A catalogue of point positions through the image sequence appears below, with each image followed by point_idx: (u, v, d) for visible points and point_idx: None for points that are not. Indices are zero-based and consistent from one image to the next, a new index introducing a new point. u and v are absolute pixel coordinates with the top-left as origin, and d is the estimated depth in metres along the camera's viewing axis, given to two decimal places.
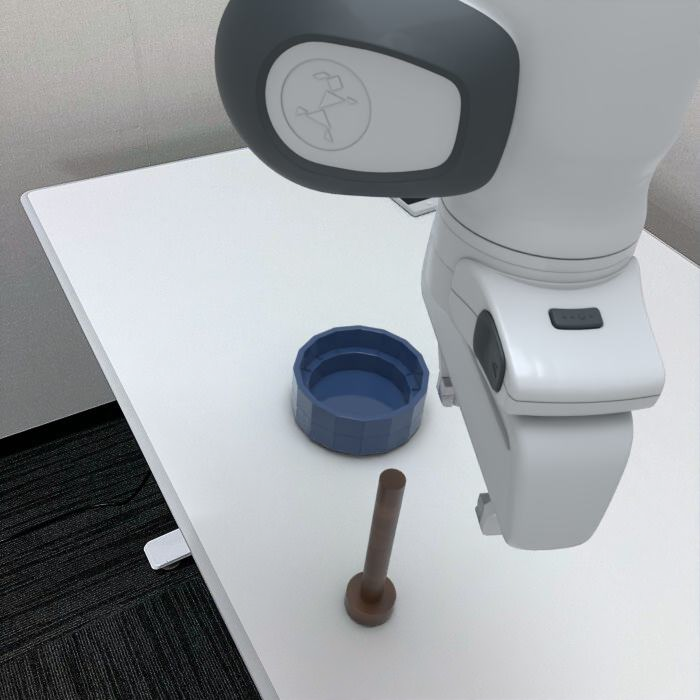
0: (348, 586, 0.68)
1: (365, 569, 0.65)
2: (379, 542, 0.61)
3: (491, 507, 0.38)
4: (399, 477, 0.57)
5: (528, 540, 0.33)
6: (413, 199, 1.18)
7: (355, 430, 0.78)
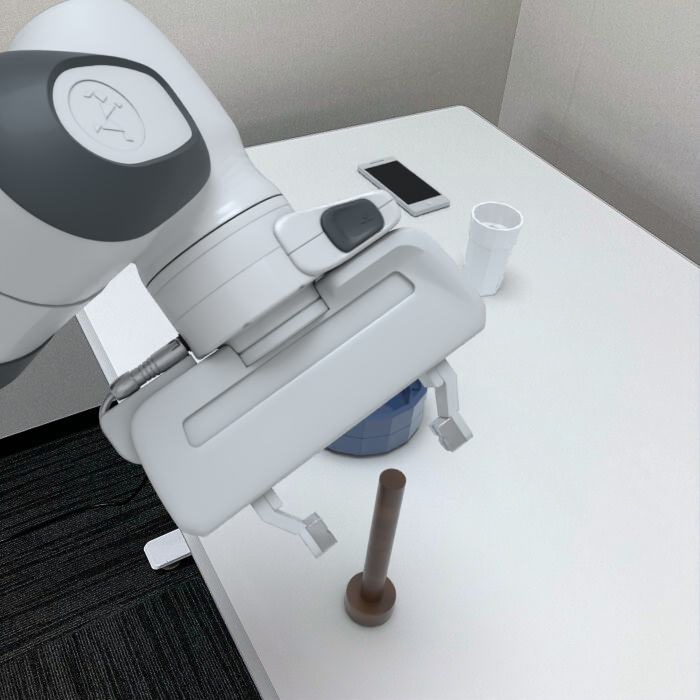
0: (348, 586, 0.68)
1: (365, 569, 0.65)
2: (379, 542, 0.61)
3: (451, 389, 0.42)
4: (399, 477, 0.57)
5: None
6: (413, 199, 1.18)
7: (355, 430, 0.78)
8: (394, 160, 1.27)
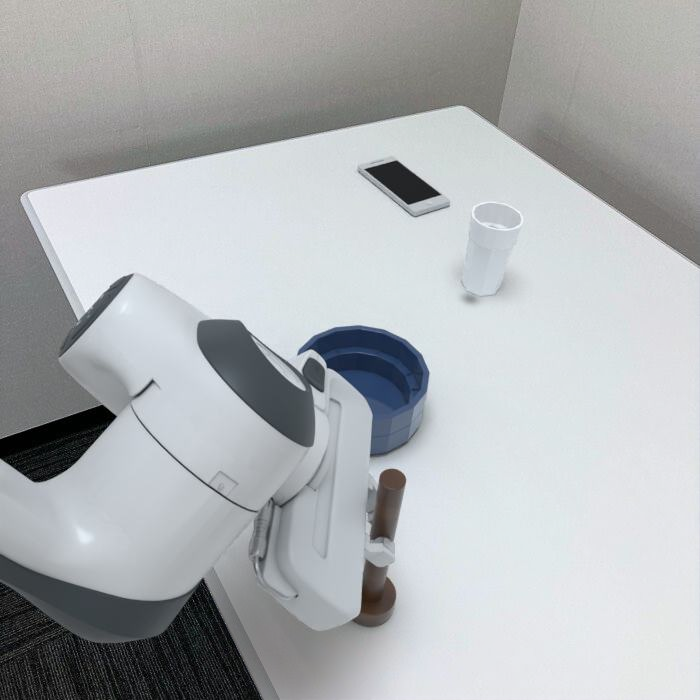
0: None
1: (365, 569, 0.65)
2: None
3: (377, 487, 0.62)
4: (399, 477, 0.57)
5: None
6: (413, 199, 1.18)
7: None
8: (394, 160, 1.27)
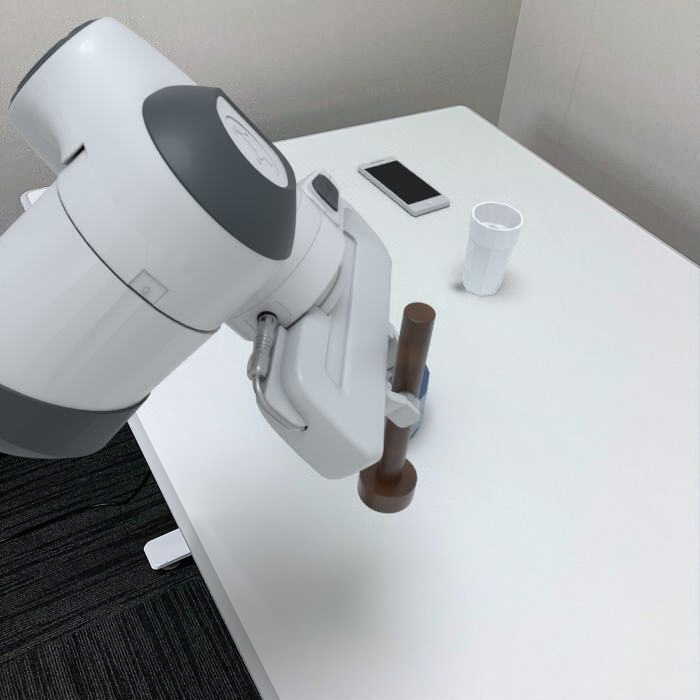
0: None
1: None
2: None
3: (398, 338, 0.53)
4: (427, 311, 0.48)
5: None
6: (413, 199, 1.18)
7: None
8: (394, 160, 1.27)
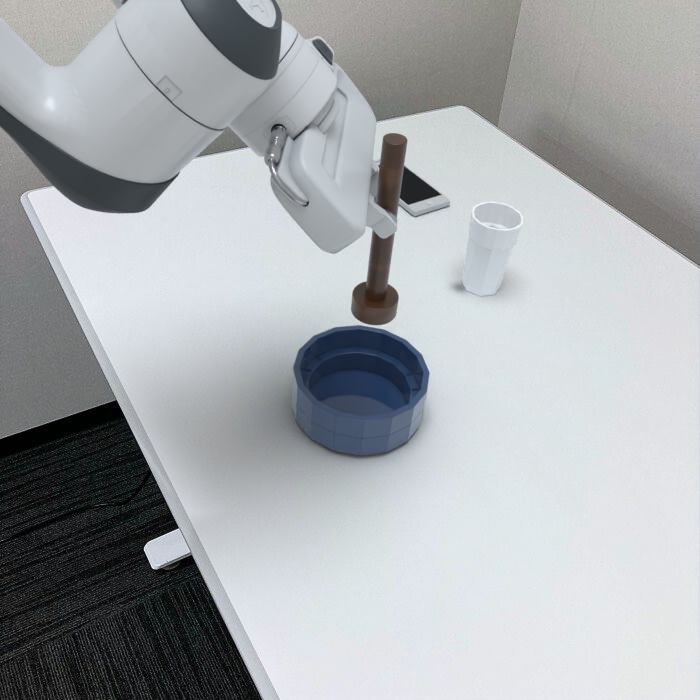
0: (354, 290, 0.73)
1: (370, 259, 0.70)
2: None
3: None
4: (401, 138, 0.62)
5: None
6: (413, 199, 1.18)
7: (355, 430, 0.78)
8: None
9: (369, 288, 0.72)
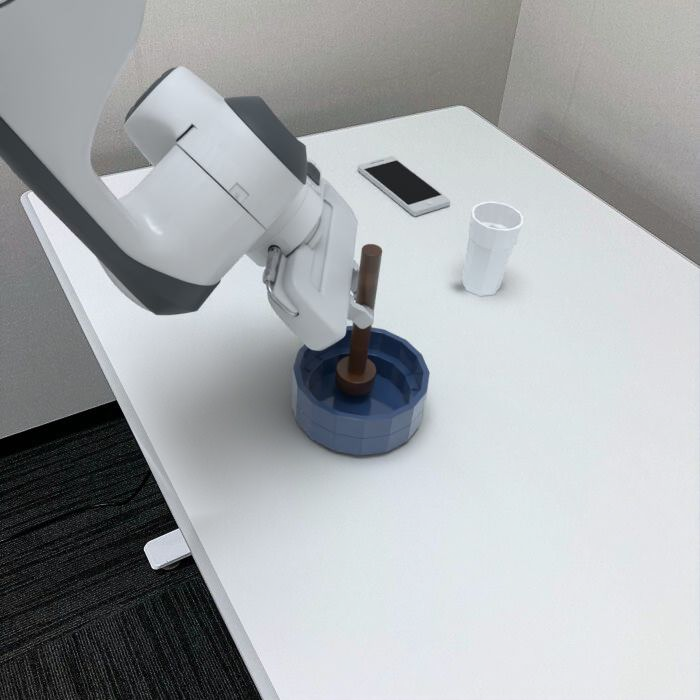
0: (338, 364, 0.85)
1: (351, 342, 0.82)
2: None
3: None
4: (377, 249, 0.74)
5: None
6: (413, 199, 1.18)
7: (355, 430, 0.78)
8: (394, 160, 1.27)
9: (351, 364, 0.84)
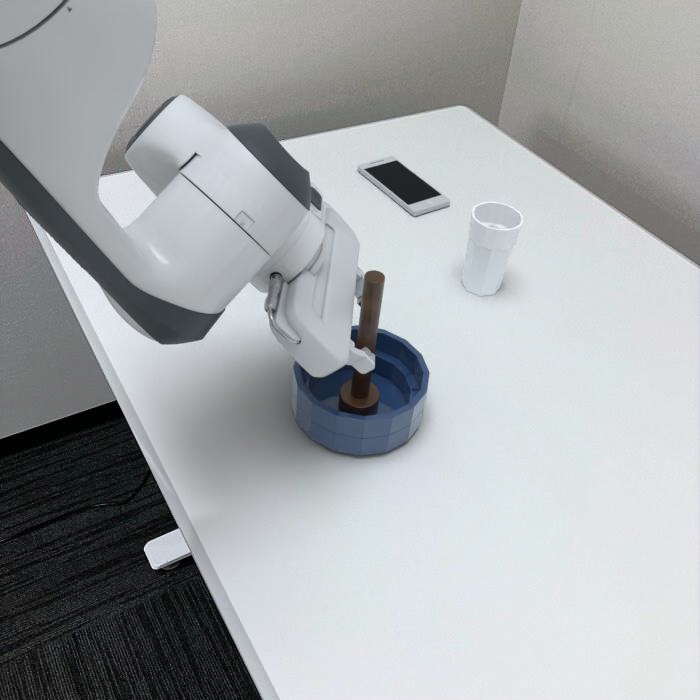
0: (341, 388, 0.85)
1: None
2: (365, 336, 0.78)
3: None
4: (379, 275, 0.74)
5: None
6: (413, 199, 1.18)
7: (355, 430, 0.78)
8: (394, 160, 1.27)
9: (354, 389, 0.83)
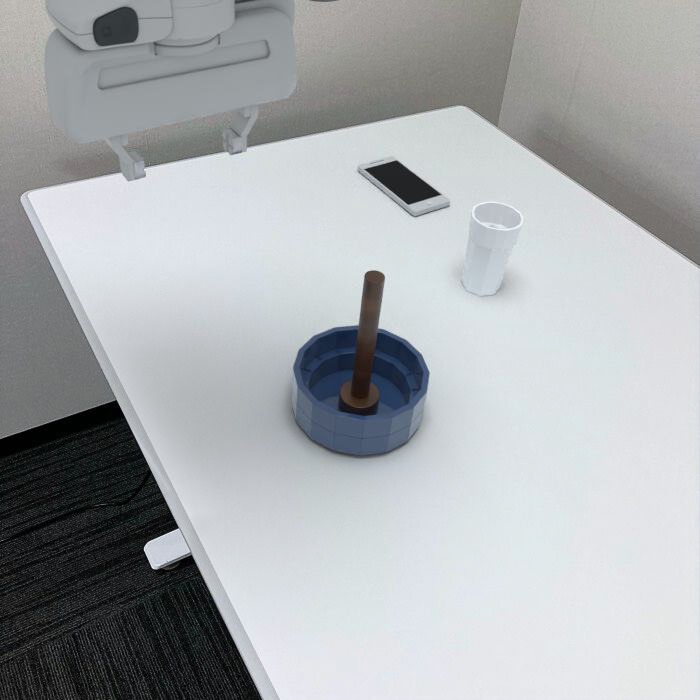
0: (341, 388, 0.85)
1: (354, 367, 0.82)
2: (365, 336, 0.78)
3: None
4: (379, 275, 0.74)
5: (51, 112, 0.58)
6: (413, 199, 1.18)
7: (355, 430, 0.78)
8: (394, 160, 1.27)
9: (354, 389, 0.83)
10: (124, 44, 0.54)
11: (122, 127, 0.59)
